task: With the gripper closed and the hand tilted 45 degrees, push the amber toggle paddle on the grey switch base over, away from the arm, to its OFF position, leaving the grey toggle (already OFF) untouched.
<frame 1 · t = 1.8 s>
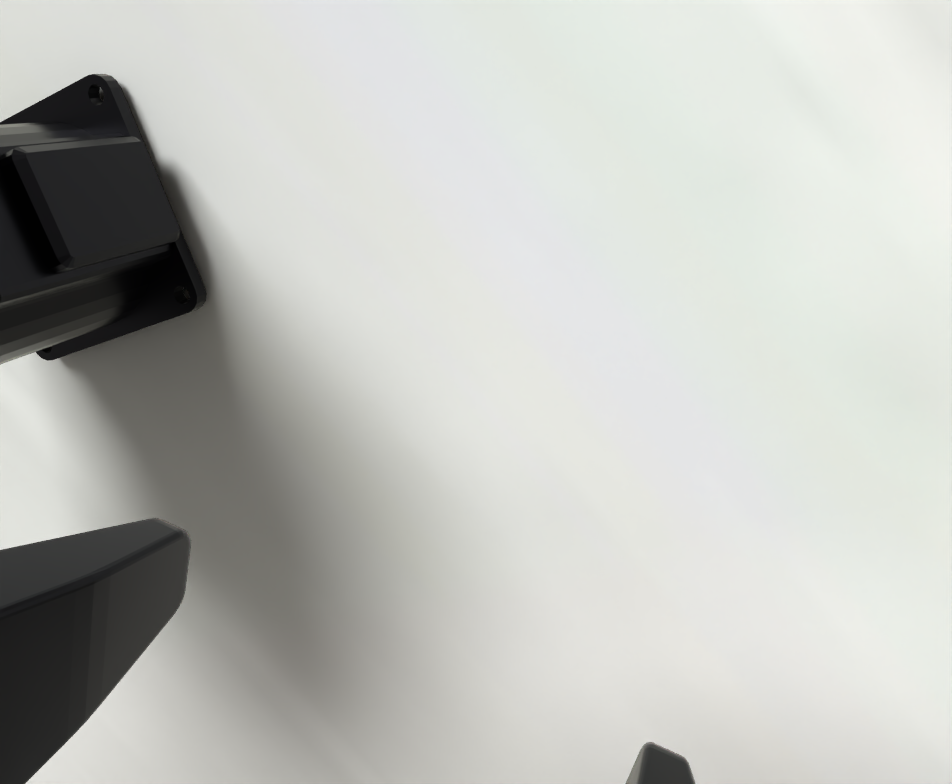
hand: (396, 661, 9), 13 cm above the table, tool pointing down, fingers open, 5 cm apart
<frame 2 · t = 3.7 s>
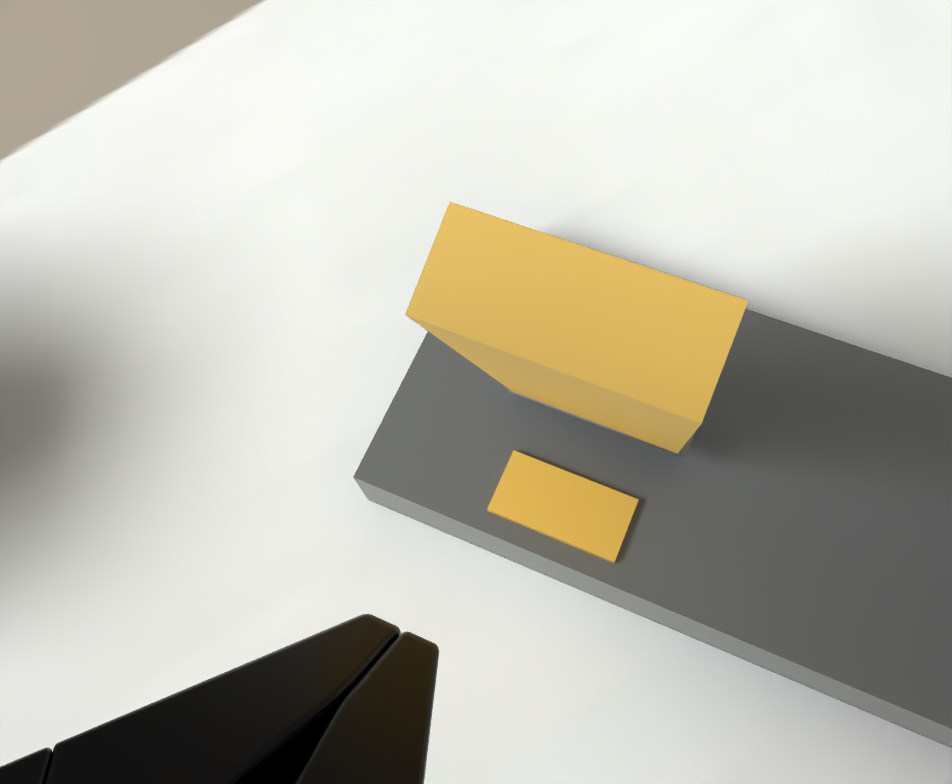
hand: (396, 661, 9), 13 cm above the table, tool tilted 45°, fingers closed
grey switch base: (800, 514, 22), on the table
rocker amber: (595, 366, 16), point 7 cm above the table, hinge at -18.0°
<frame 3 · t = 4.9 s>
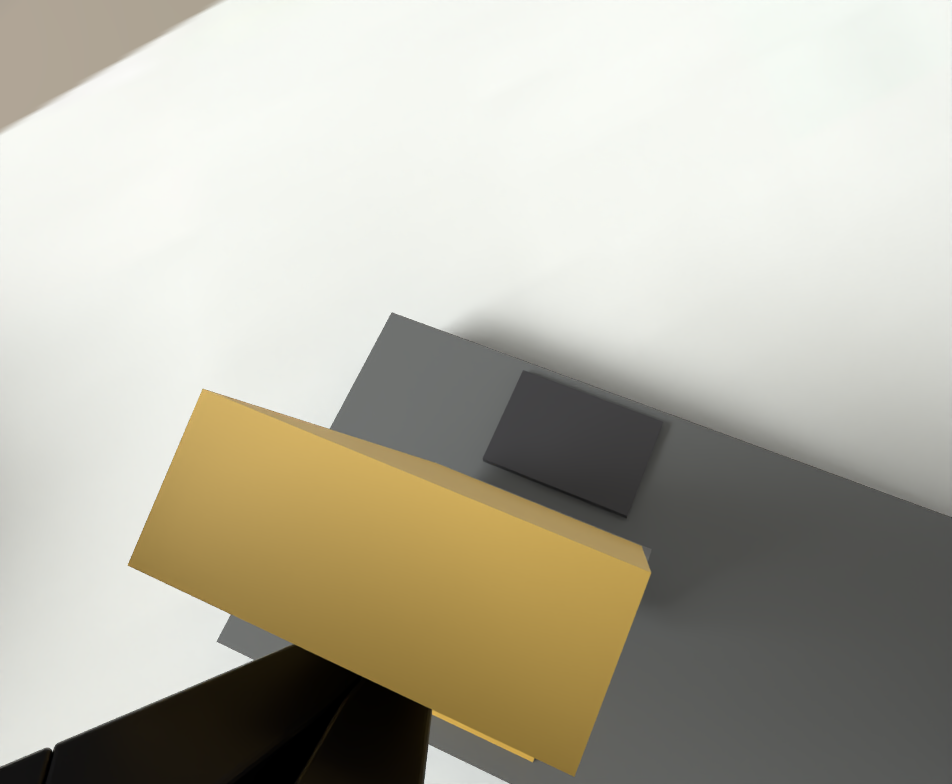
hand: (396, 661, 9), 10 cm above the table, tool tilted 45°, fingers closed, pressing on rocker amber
grey switch base: (770, 678, 18), on the table
rocker amber: (485, 550, 12), point 8 cm above the table, hinge at -15.6°, touching gripper
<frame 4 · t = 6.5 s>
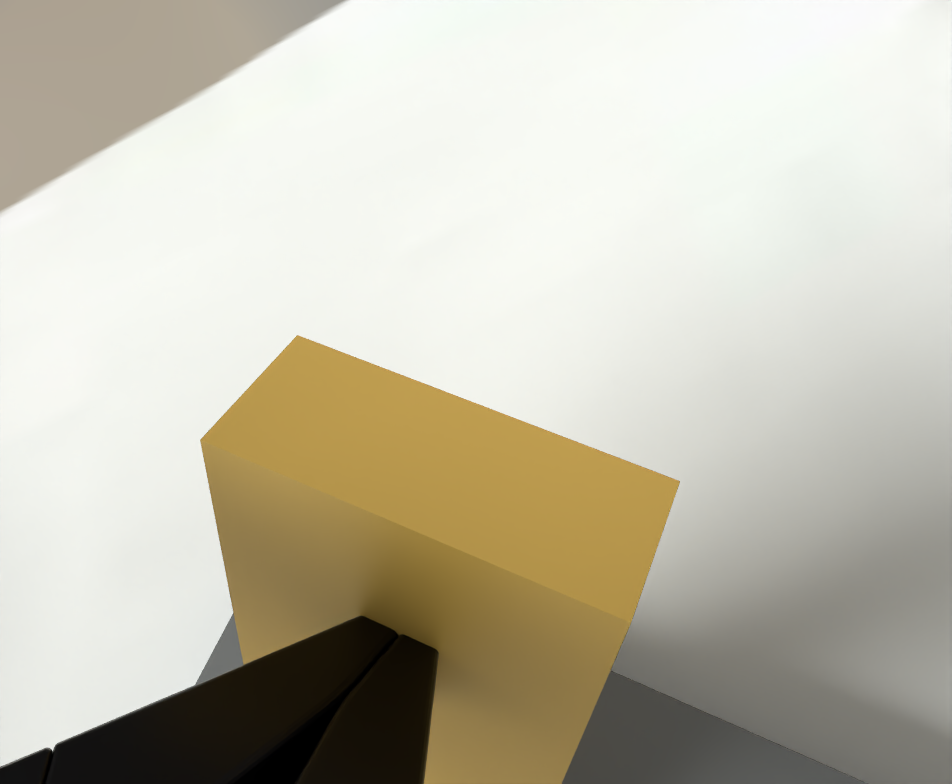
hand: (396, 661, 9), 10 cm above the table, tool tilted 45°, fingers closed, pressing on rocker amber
rocker amber: (415, 719, 12), point 7 cm above the table, hinge at 23.2°, touching gripper
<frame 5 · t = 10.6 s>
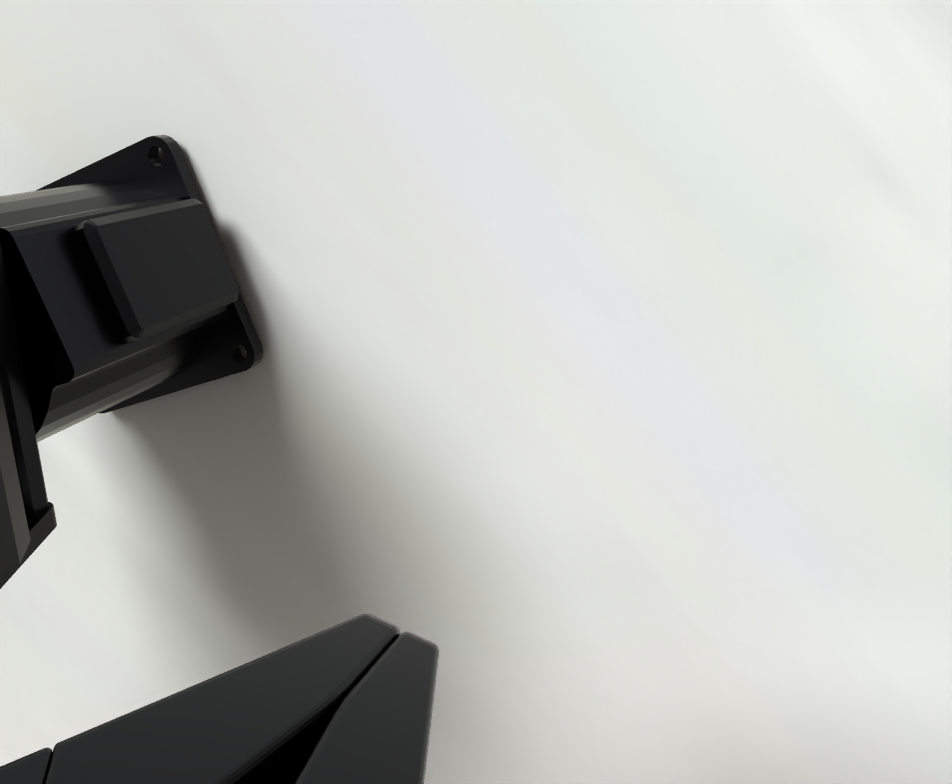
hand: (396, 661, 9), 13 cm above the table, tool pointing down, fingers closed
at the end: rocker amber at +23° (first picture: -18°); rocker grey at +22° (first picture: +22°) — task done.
